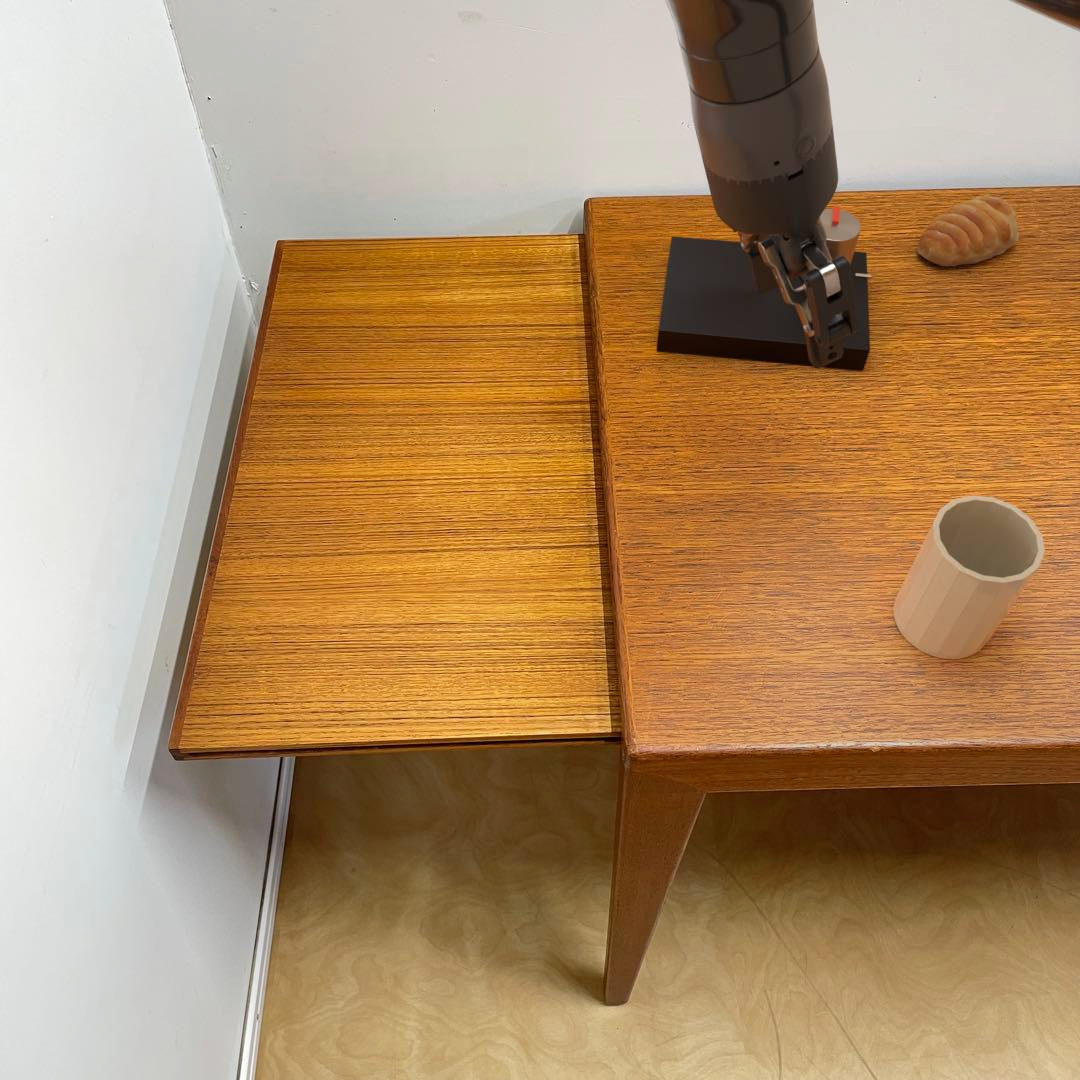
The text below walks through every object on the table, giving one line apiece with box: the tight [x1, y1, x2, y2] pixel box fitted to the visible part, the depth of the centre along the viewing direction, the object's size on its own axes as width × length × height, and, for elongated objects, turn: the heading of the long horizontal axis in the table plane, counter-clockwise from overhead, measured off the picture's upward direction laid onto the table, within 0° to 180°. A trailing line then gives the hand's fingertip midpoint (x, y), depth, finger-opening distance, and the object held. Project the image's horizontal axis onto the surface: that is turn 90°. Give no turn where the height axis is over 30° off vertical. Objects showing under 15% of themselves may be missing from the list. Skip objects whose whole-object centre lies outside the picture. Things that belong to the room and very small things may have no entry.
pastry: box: [917, 193, 1020, 268], centre depth 94 cm, size 9×7×4 cm
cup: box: [892, 494, 1046, 660], centre depth 67 cm, size 7×7×10 cm
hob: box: [656, 235, 872, 372], centre depth 90 cm, size 18×14×3 cm
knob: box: [800, 205, 862, 281], centre depth 88 cm, size 4×4×6 cm
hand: (798, 321), depth 70 cm, fingers open, 8 cm apart
